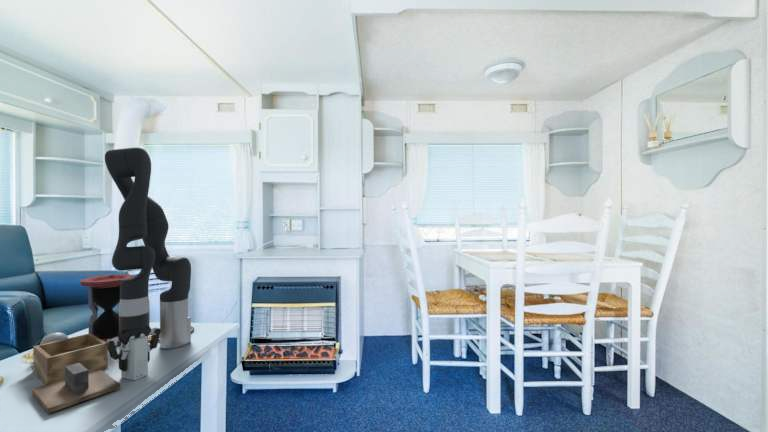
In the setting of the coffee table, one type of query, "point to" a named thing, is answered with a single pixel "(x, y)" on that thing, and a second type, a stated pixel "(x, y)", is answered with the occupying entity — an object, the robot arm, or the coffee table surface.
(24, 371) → the coffee table surface
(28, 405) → the coffee table surface
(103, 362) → the open wooden box
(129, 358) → the skincare box
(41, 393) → the lid
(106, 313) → the hourglass
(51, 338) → the round bodied animal figurine
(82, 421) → the coffee table surface
